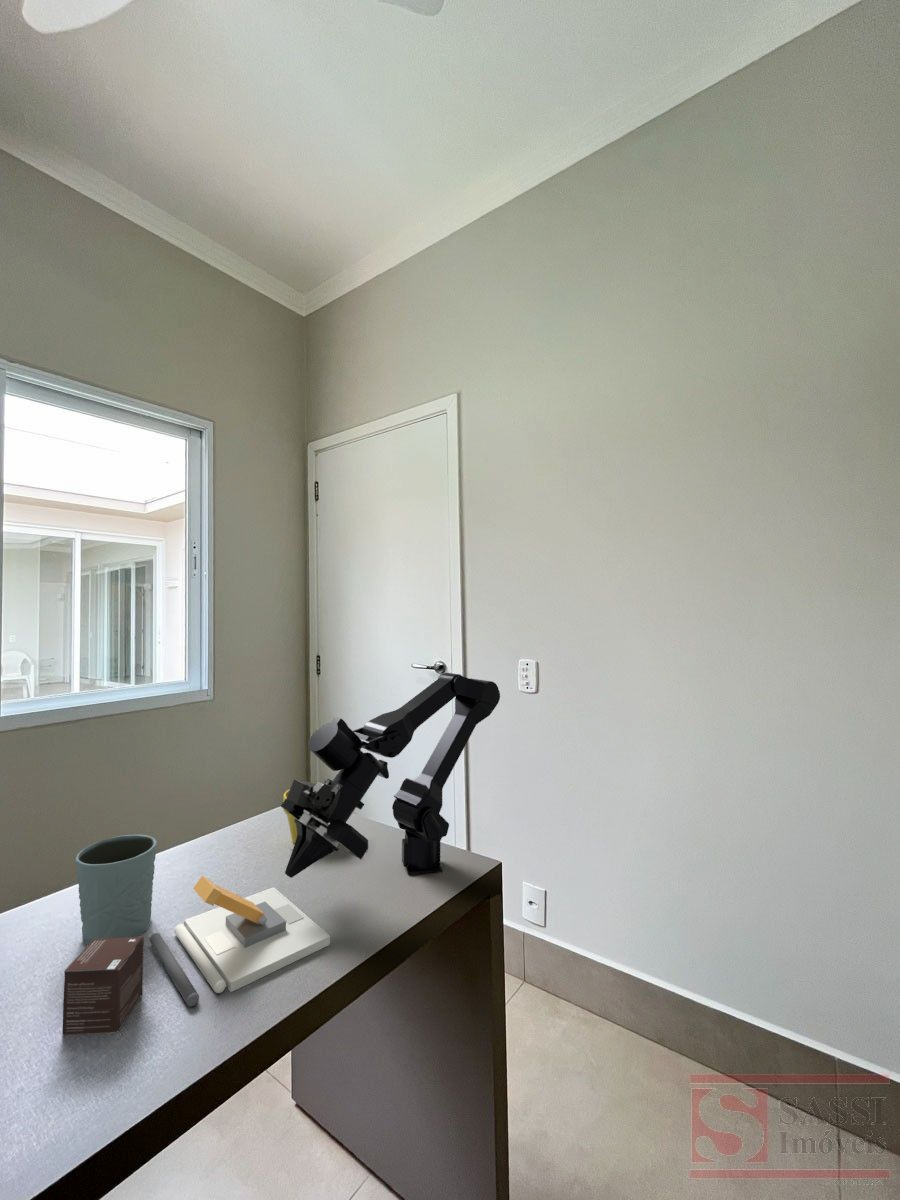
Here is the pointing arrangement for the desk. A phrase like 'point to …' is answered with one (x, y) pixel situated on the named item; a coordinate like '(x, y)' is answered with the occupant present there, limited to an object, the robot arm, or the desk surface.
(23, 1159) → the desk surface
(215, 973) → the rods
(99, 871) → the grey-green cup
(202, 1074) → the desk surface
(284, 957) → the breaker panel
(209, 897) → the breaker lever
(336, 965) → the desk surface
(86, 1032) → the box
